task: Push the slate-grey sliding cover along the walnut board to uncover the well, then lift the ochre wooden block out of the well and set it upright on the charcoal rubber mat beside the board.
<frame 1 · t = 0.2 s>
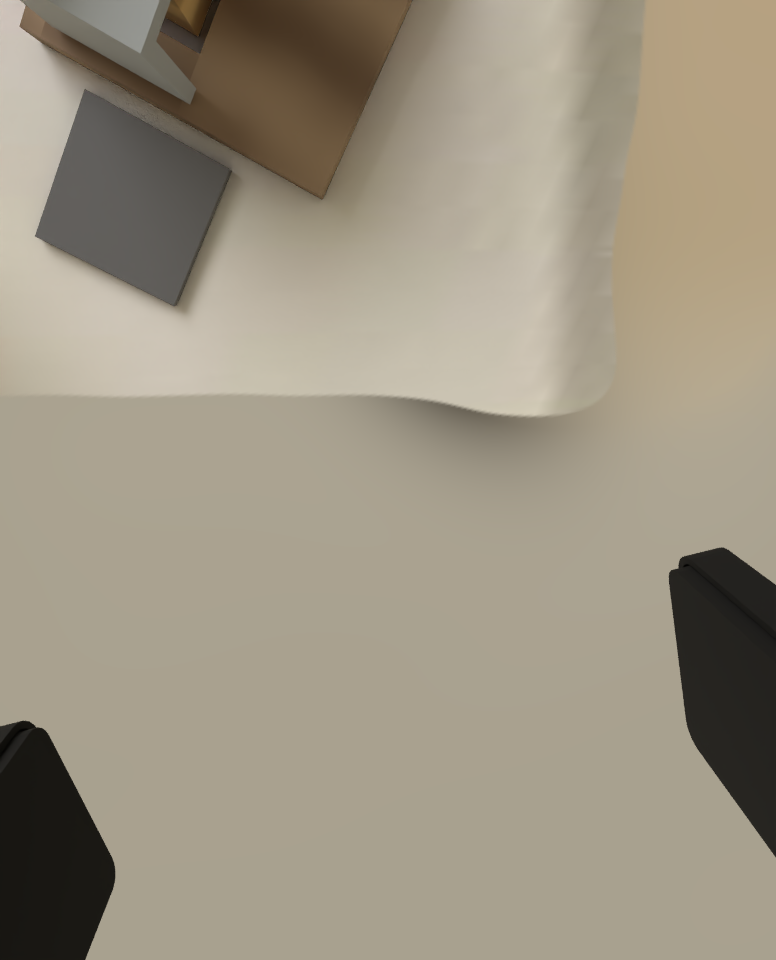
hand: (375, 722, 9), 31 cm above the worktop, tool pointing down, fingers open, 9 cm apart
mat: (135, 204, 35), on the worktop
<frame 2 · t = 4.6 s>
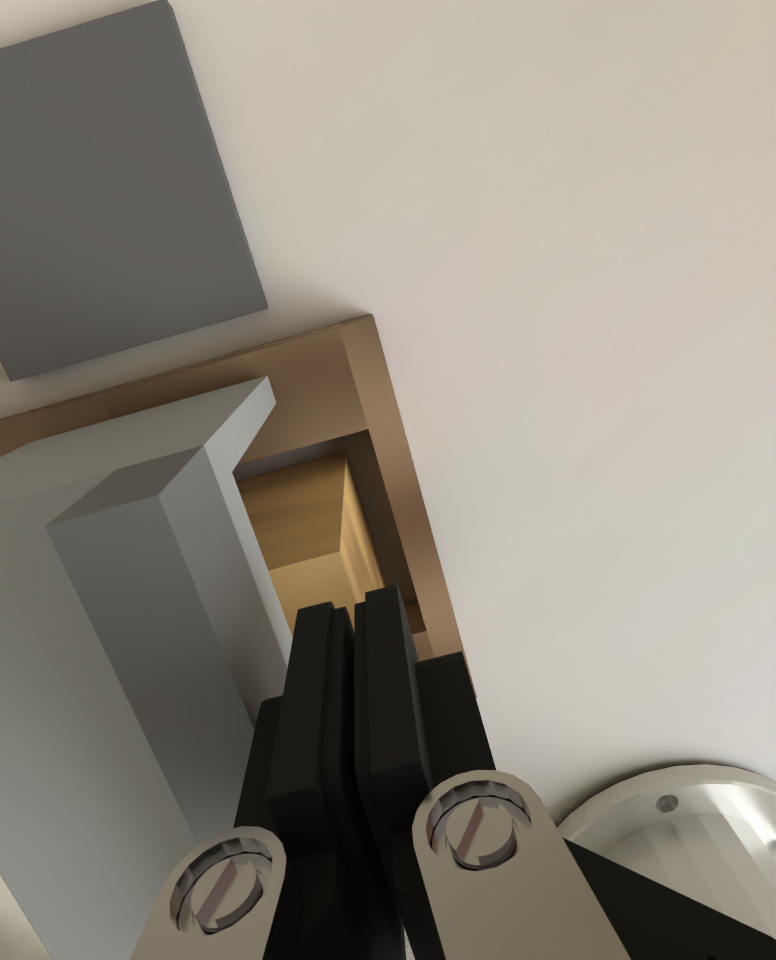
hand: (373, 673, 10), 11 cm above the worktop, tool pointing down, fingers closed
cover: (173, 690, 15), point 7 cm above the worktop, slide at 1.8 cm, touching gripper
mat: (90, 207, 18), on the worktop
block: (296, 538, 22), resting in board
board: (198, 565, 22), on the worktop
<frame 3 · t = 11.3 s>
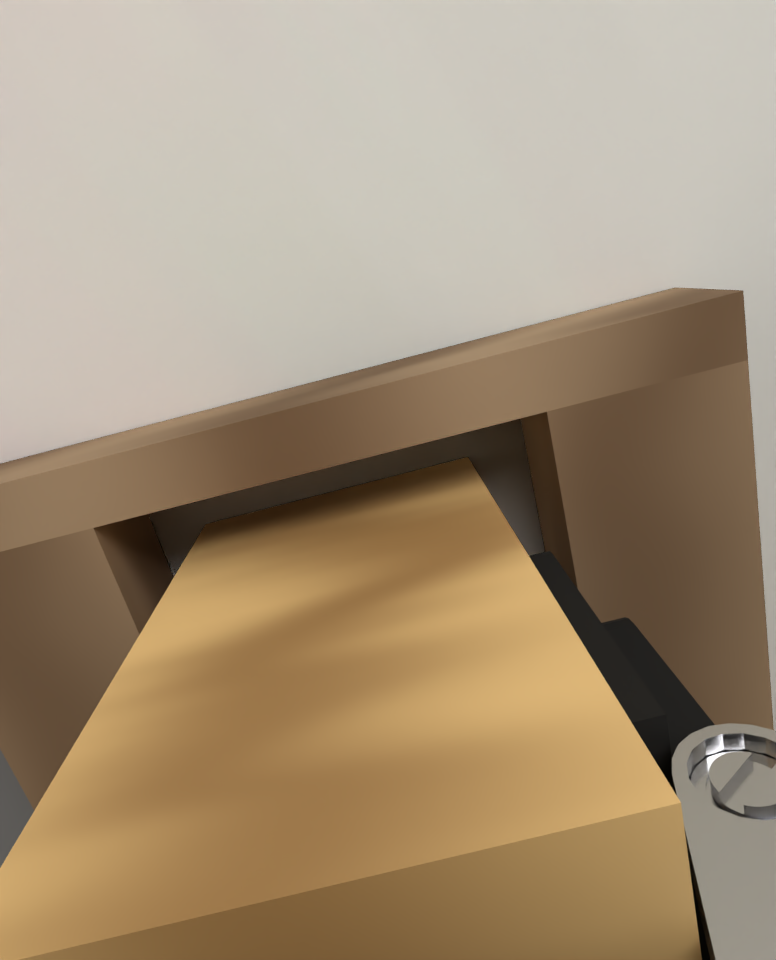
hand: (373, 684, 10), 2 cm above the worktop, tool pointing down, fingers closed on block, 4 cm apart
block: (370, 607, 12), resting in board, touching gripper
board: (414, 746, 14), on the worktop
when the fingers open (4 cm above the worktop, at t = 17.9 s): block drops 1 cm, resting on mat.
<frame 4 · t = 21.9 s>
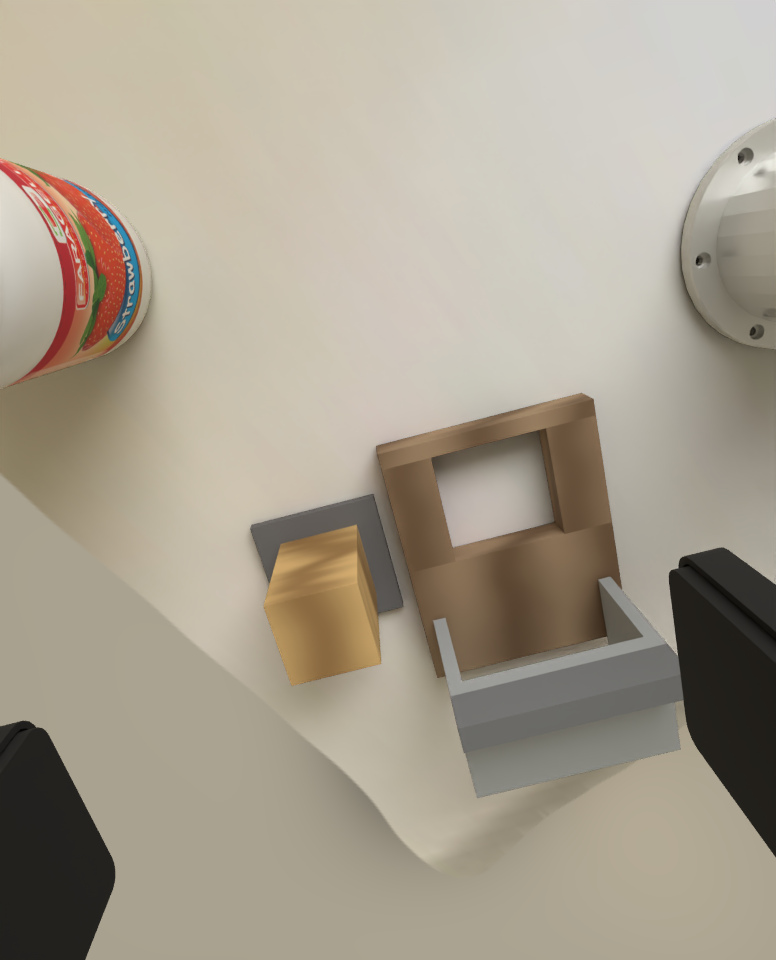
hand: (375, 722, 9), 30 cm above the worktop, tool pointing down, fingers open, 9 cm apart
cover: (554, 693, 37), point 7 cm above the worktop, slide at 10.0 cm
fruit juice: (72, 273, 36), on the worktop
mat: (329, 564, 42), on the worktop
block: (329, 568, 41), point 1 cm above the worktop, touching mat
board: (503, 535, 42), on the worktop
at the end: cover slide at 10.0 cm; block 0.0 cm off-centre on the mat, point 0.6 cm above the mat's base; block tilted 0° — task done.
